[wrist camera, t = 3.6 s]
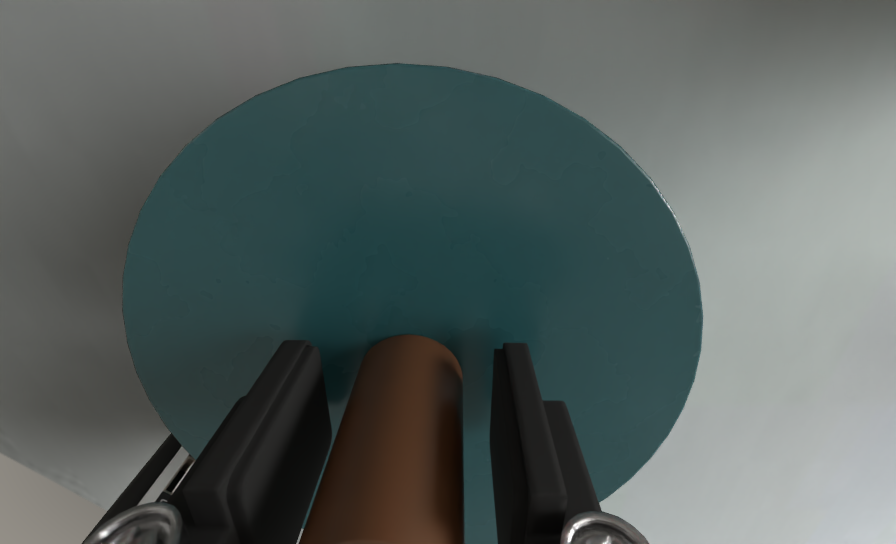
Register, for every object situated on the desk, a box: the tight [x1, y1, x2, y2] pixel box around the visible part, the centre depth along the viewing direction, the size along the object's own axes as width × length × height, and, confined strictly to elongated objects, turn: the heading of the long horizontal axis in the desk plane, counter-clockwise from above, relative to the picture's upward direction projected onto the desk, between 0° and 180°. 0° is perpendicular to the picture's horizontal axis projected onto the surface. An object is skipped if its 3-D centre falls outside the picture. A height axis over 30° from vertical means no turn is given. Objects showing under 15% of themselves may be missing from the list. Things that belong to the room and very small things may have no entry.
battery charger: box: [82, 433, 196, 544], centre depth 19 cm, size 7×4×11 cm, turn 143°
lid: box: [122, 63, 703, 544], centre depth 9 cm, size 14×14×6 cm
